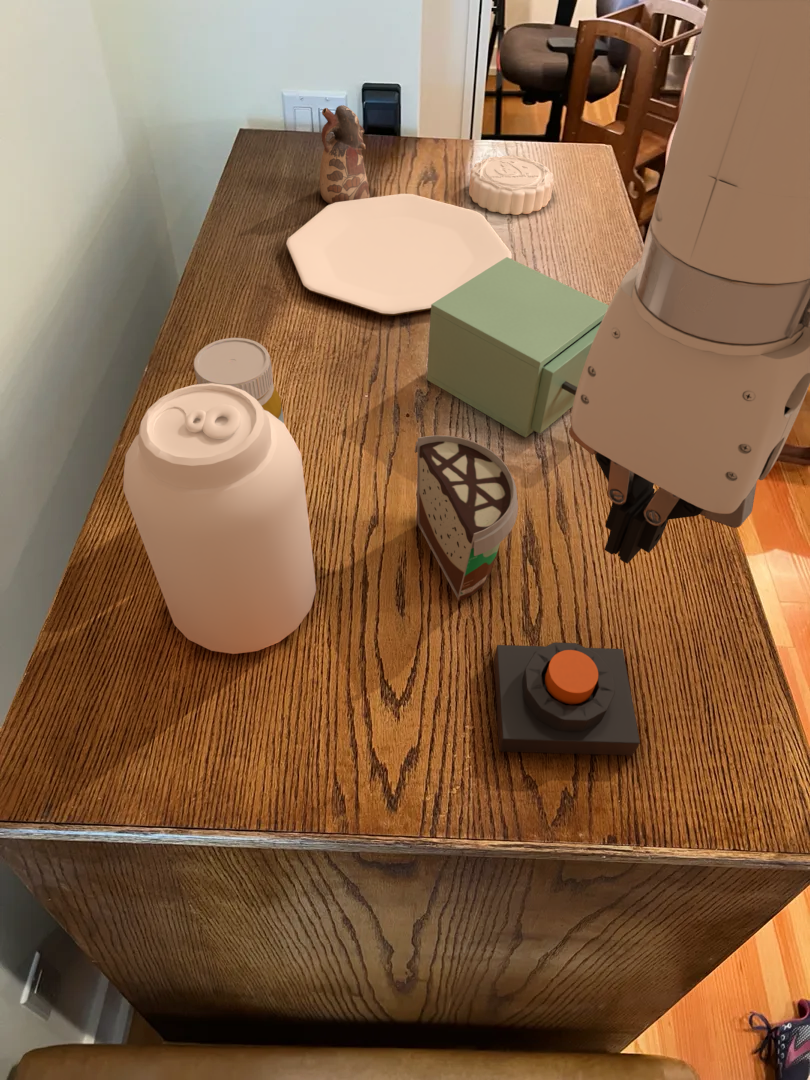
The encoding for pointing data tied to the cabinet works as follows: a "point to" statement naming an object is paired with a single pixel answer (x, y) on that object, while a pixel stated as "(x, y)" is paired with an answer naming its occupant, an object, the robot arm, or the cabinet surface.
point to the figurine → (342, 158)
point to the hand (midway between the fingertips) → (628, 543)
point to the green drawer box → (505, 338)
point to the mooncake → (510, 185)
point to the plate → (393, 252)
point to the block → (562, 704)
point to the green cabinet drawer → (561, 382)
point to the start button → (571, 677)
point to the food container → (463, 507)
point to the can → (223, 517)
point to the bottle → (240, 370)
